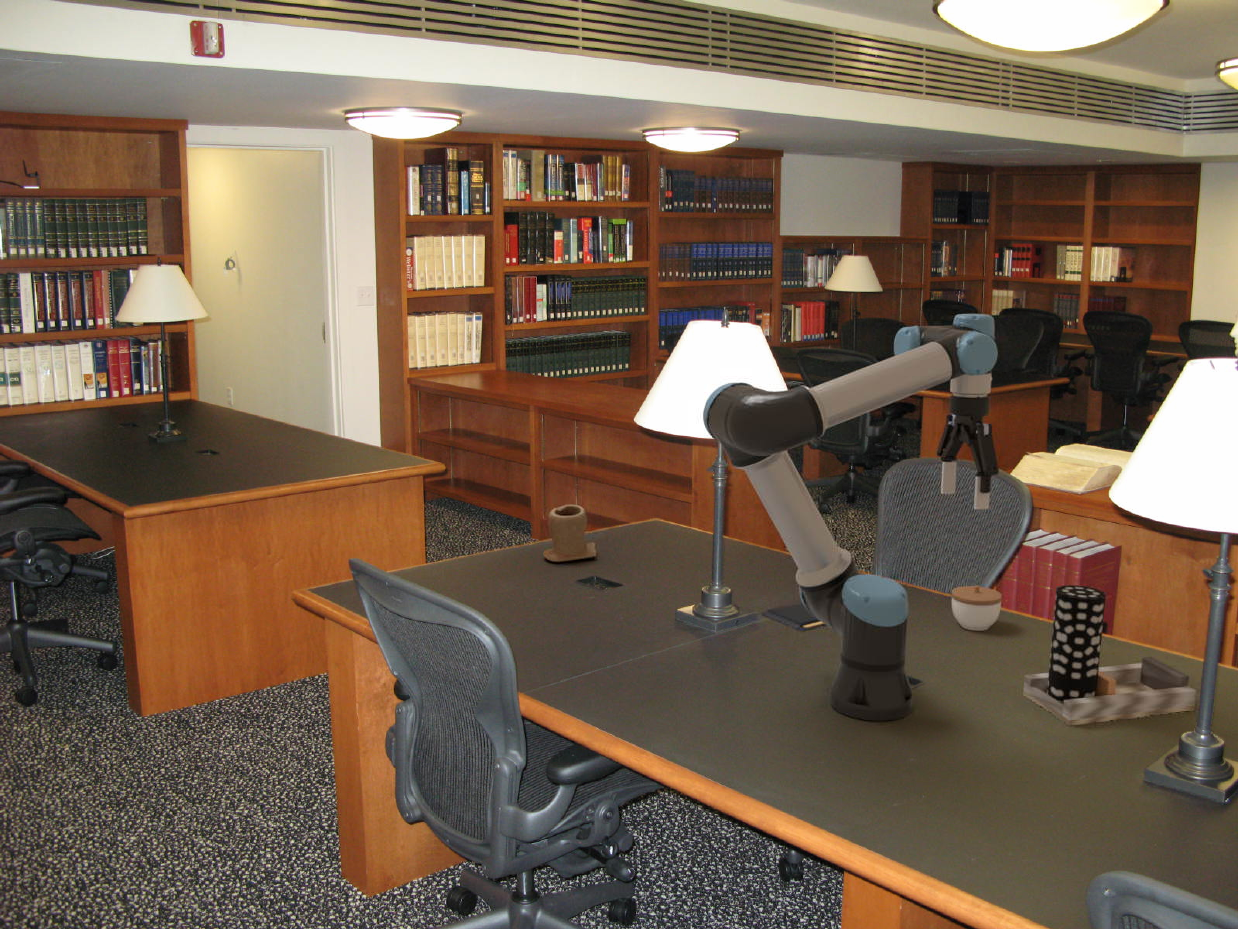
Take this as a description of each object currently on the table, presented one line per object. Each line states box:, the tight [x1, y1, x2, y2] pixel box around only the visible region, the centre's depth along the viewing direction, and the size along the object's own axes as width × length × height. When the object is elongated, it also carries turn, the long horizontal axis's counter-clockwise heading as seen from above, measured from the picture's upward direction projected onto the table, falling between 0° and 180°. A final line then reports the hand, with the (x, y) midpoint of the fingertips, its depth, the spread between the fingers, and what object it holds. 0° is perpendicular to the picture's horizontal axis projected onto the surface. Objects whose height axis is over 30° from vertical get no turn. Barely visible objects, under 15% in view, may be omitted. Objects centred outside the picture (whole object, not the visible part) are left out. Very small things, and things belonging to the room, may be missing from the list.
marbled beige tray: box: [1022, 656, 1197, 726], centre depth 206 cm, size 26×14×6 cm, turn 104°
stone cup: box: [543, 504, 597, 563], centre depth 301 cm, size 15×12×15 cm
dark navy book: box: [761, 601, 827, 632], centre depth 256 cm, size 20×2×15 cm
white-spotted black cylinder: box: [1047, 584, 1107, 703], centre depth 202 cm, size 8×8×20 cm
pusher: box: [1096, 670, 1116, 696], centre depth 205 cm, size 2×9×5 cm, turn 13°
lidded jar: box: [950, 584, 1003, 632], centre depth 247 cm, size 11×11×9 cm
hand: (964, 501), depth 219 cm, fingers open, 13 cm apart
